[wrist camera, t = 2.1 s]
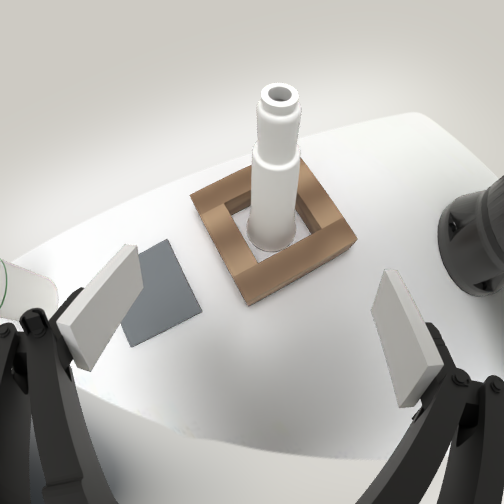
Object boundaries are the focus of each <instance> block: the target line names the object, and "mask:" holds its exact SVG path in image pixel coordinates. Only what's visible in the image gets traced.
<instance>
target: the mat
mask: <svg viewBox="0 0 504 504" xmlns="http://www.w3.org/2000/svg"><path fill="white" fill-rule="evenodd" d="M138 256H139V262H140V269H141V275H142V281H143V287H144V288H143V289H142V291H141V292H140V294H139V295H138V297H137V298H136V300H135V301H134V303H133V304H132V306H131V307H130V309H129V311H128V312H127V314H126V315H125V317H124V318H123V320H122V321H121V326H122V328H123V331H124V333H125V335H126V338H127V340H128V342H129V344H130V347H134V346H136V345H138V344H140V343H142V342H144V341H146V340H148V339H150V338H152V337H154V336H156V335H158V334H160V333H162V332H163V331H165V330H167V329H169V328H171V327H173V326H175V325H177V324H179V323H181V322H183V321H185V320H187V319H189V318H191V317H193V316H195V315H197V314H198V313H200V312H202V310H201V308H200V306H199V304H198V302H197V300H196V298H195V296H194V294H193V292H192V290H191V288H190V286H189V284H188V282H187V280H186V278H185V275H184V273H183V271H182V269H181V267H180V265H179V263H178V261H177V259H176V256H175V254H174V252H173V250H172V248H171V245H170V243H169V241H168V240H167V239H166V240H164V241H162V242H160V243H158V244H157V245H155V246H153V247H151V248H149V249H148V250H146V251H144V252H142V253H140V254H139V255H138Z"/></svg>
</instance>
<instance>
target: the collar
mask: <svg viewBox="0 0 504 504" xmlns="http://www.w3.org/2000/svg"><path fill="white" fill-rule="evenodd" d="M251 172H252V165H250V166H248V167H246V168H243V169H241V170H239V171H237V172H235V173H233V174H231V175H229V176H227V177H225V178H223V179H221V180H219V181H217V182H215V183H213V184H211V185H209V186H207V187H205V188H203V189H201V190H199V191H197V192H195V193H193V194H191V195H190V197H191V199H192V201H193V203H194V205H195V207H196V209H197V211H198V213H199V215H200V217H201V219H202V221H203V223H204V225H205V227H206V229H207V231H208V232H209V234H210V236H211V238H212V240H213V242H214V244H215V246H216V248H217V250H218V251H219V253H220V255H221V257H222V259H223V261H224V263H225V265H226V266H227V268H228V270H229V272H230V274H231V276H232V278H233V279H234V281H235V283H236V285H237V287H238V289H239V290H240V292H241V294H242V296H243V298H244V300H245V301H246V303H247V305H248V306H250V305H252V304H254V303H256V302H257V301H259V300H261V299H263V298H265V297H267V296H268V295H270V294H272V293H274V292H276V291H277V290H279V289H281V288H283V287H285V286H286V285H288V284H290V283H292V282H294V281H295V280H297V279H299V278H301V277H302V276H304V275H306V274H308V273H309V272H311V271H313V270H315V269H316V268H318V267H320V266H321V265H323V264H325V263H327V262H328V261H330V260H332V259H333V258H335V257H337V256H338V255H340V254H342V253H343V252H345V251H347V250H348V249H349V248H350V247H351V246H352V245H353V244H354V243H355V242H356V241H357V237H356V235H355V234H354V232H353V231H352V229H351V228H350V226H349V225H348V223H347V222H346V220H345V219H344V217H343V216H342V214H341V213H340V211H339V210H338V208H337V207H336V206H335V204H334V203H333V201H332V200H331V198H330V197H329V195H328V194H327V193H326V191H325V190H324V188H323V187H322V186H321V184H320V183H319V181H318V180H317V179H316V177H315V176H314V175H313V173H312V172H311V171H310V169H309V168H308V166H307V165H306V164H305V162H304V161H303V160H302V159H301V157H300V169H299V179H298V187H297V195H296V203H295V209H296V210H297V212H298V213H299V215H300V217H301V218H302V220H303V221H304V223H305V224H306V226H307V227H308V229H309V231H310V232H311V235H310V236H308V237H306V238H304V239H302V240H300V241H299V242H297V243H295V244H293V245H291V246H289V247H288V248H286V249H284V250H282V251H280V252H278V253H277V254H275V255H273V256H271V257H269V258H267V259H265V260H264V261H262V262H260V263H258V262H257V261H256V259H255V257H254V255H253V254H252V252H251V250H250V248H249V247H248V245H247V243H246V241H245V240H244V238H243V236H242V234H241V233H240V231H239V229H238V227H237V226H236V224H235V222H234V220H233V219H232V217H231V215H233V214H235V213H237V212H239V211H241V210H242V209H244V208H246V207H248V206H250V205H251Z"/></svg>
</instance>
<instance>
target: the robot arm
mask: <svg viewBox="0 0 504 504" xmlns="http://www.w3.org/2000/svg"><path fill="white" fill-rule="evenodd" d="M438 242H439V248H440V253H441V256H442V259H443V262H444V265H445V267H446V269H447V271H448V273H449V274H450V276H451V278H452V279H453V280H454V282H455V283H456V284H457V285H458V286H459V287H460V288H461V289H462V290H464V291H465V292H467V293H469V294H471V295H474V296H486V295H489V294H492V293H495V292H497V291H499V290H500V289H502V288H503V287H504V176H502V177H501V178H500V179H499V180H498V181H496V182H495V183H494V184H493V185H492V186H490V187H489V188H488V189H487V190H484V191H480V192H475V193H471V194H467V195H463V196H461V197H459V198H457V199H455V200H454V201H453V202H452V203H451V204H450V205H448V206H447V207H446V209H445V210H444V212H443V213H442V216H441V218H440V222H439V227H438ZM143 288H144V287H143V281H142V275H141V269H140V262H139V256H138V249H137V245H127V244H125V245H124V246H123V247H122V248H121V249H120V250H119V251H118V252H117V253H116V254H115V255H114V256H113V257H112V258H111V260H110V261H109V262H108V263H107V264H106V265H105V266H104V267H103V268H102V269H101V270H100V271H99V272H98V274H97V275H96V276H95V277H94V278H93V279H92V280H91V281H90V282H89V284H88V285H87V286H86V287H85V288H82V287H81V288H79V289H78V290H76V291H74V292H73V293H72V294H71V295H70V296H69V297H68V298H67V301H65V302H64V303H63V304H62V306H60V308H59V309H58V310H57V311H56V312H55V313H54V315H53V316H52V317H51V318H50V319H49V321H48V319H47V316H46V314H45V311H44V310H43V309H41V308H32V309H29V310H27V311H26V312H24V313H23V314H22V316H21V317H20V320H19V322H20V324H21V326H22V328H23V330H24V332H18V331H17V329H16V328H15V326H14V324H12V323H4V324H2V325H0V504H31V498H30V479H29V445H30V426H31V414H32V419H33V425H34V431H35V437H36V442H37V446H38V451H39V456H40V460H41V464H42V468H43V472H44V476H45V479H46V486H45V487H43V489H42V494H43V499H44V502H45V504H118V502H117V501H116V499H115V498H114V496H113V494H112V492H111V490H110V487H109V485H108V483H107V480H106V478H105V476H104V473H103V471H102V469H101V466H100V463H99V461H98V458H97V456H96V453H95V450H94V447H93V444H92V441H91V439H90V436H89V433H88V429H87V426H86V423H85V420H84V416H83V413H82V409H81V406H80V402H79V398H78V394H77V390H76V386H75V382H74V377H73V373H72V369H71V367H70V365H69V364H70V363H71V361H72V360H74V362H75V364H76V366H77V368H80V369H83V370H86V371H89V372H91V371H92V369H93V367H94V366H95V364H96V362H97V361H98V359H99V357H100V355H101V354H102V352H103V350H104V349H105V347H106V346H107V344H108V342H109V341H110V339H111V337H112V336H113V334H114V333H115V331H116V329H117V328H118V326H119V325H120V323H121V321H122V320H123V318H124V317H125V315H126V314H127V312H128V311H129V309H130V307H131V306H132V304H133V303H134V301H135V300H136V298H137V297H138V295H139V294H140V292H141V291H142V289H143ZM371 312H372V315H373V318H374V322H375V325H376V328H377V331H378V334H379V337H380V341H381V344H382V347H383V351H384V354H385V357H386V361H387V364H388V368H389V371H390V375H391V379H392V383H393V386H394V390H395V394H396V398H397V402H398V406H399V408H405V407H414V406H415V405H416V403H417V402H418V401H419V399H421V402H422V407H421V408H420V409H419V410H418V412H417V413H416V414H415V415H414V416H413V417H412V420H413V421H412V423H411V425H410V427H409V428H408V430H407V432H406V433H405V435H404V437H403V438H402V440H401V442H400V443H399V445H398V446H397V448H396V449H395V451H394V452H393V454H392V455H391V457H390V458H389V460H388V461H387V463H386V464H385V466H384V467H383V469H382V470H381V471H380V473H379V474H378V475H377V477H376V478H375V480H374V481H373V482H372V483H371V485H370V486H369V488H368V489H367V490H366V491H365V493H364V494H363V495H362V496H361V497H360V499H359V500H358V501H357V502H356V503H355V504H419V502H420V501H421V499H422V497H423V496H424V494H425V492H426V491H427V489H428V487H429V485H430V484H431V481H432V480H433V478H434V476H435V474H436V472H437V470H438V468H439V466H440V464H441V462H442V460H443V458H444V456H445V454H446V452H447V450H448V447H449V445H450V443H451V447H450V452H449V457H448V462H447V467H446V471H445V475H444V479H443V483H442V487H441V491H440V494H439V498H438V501H437V504H501V501H502V496H503V490H504V381H503V380H502V379H501V378H499V377H497V376H494V375H491V376H488V378H487V379H486V380H485V381H484V383H482V382H477V381H472V380H471V379H470V376H469V375H468V374H467V373H466V372H465V371H464V370H462V369H459V368H456V366H455V364H454V362H453V360H452V357H451V355H450V353H449V351H448V349H447V347H446V346H445V343H444V341H443V339H442V337H441V335H440V333H439V331H438V329H437V328H436V327H435V326H434V325H433V324H432V323H425V322H424V320H423V318H422V316H421V314H420V312H419V310H418V308H417V306H416V304H415V302H414V300H413V298H412V297H411V295H410V293H409V291H408V289H407V287H406V285H405V284H404V282H403V280H402V278H401V276H400V275H399V273H398V271H397V270H388V269H384V272H383V275H382V279H381V282H380V285H379V288H378V291H377V294H376V297H375V300H374V303H373V306H372V309H371ZM451 440H452V441H451Z"/></svg>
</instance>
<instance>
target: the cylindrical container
mask: <svg viewBox="0 0 504 504" xmlns="http://www.w3.org/2000/svg"><path fill="white" fill-rule="evenodd" d="M57 307H58V292H57V288H56V286H55V284H54V283H53V281H52V280H50V279H49V278H47V277H44V276H41V275H39V274H36V273H34V272H31V271H29V270H26V269H24V268H21V267H19V266H16V265H14V264H11V263H9V262H7V261H4V260H2V259H0V318H5V319H10V320H16V321H19V320H20V317H21V316H22V314H23V313H24V312H26V311H27V310H29V309H32V308H41V309H43V310H44V311H45V314H46V316H47V319H48V321H49V319H50V318H51V317H52V316H53V315H54V313H55V312H56V311H57Z"/></svg>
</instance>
